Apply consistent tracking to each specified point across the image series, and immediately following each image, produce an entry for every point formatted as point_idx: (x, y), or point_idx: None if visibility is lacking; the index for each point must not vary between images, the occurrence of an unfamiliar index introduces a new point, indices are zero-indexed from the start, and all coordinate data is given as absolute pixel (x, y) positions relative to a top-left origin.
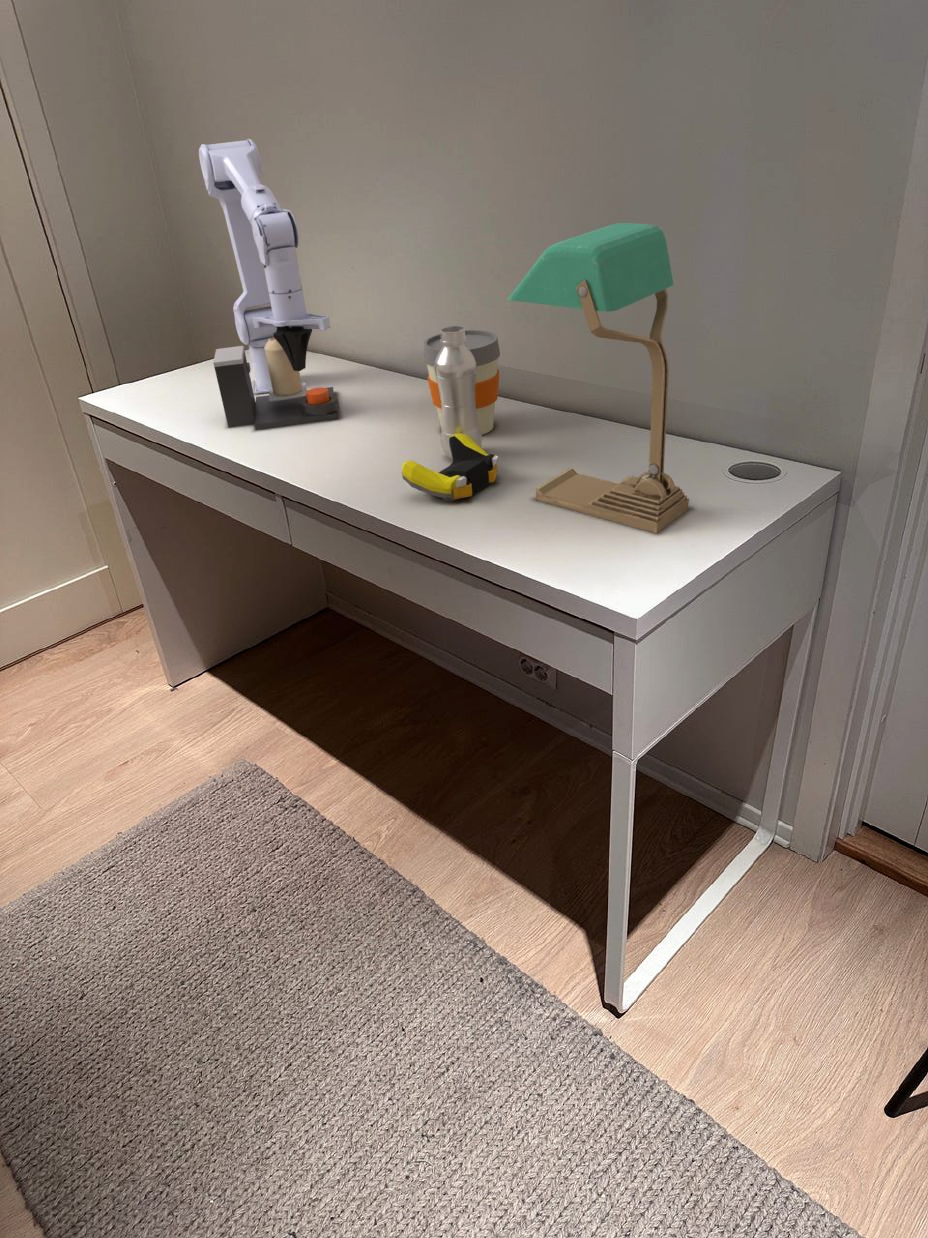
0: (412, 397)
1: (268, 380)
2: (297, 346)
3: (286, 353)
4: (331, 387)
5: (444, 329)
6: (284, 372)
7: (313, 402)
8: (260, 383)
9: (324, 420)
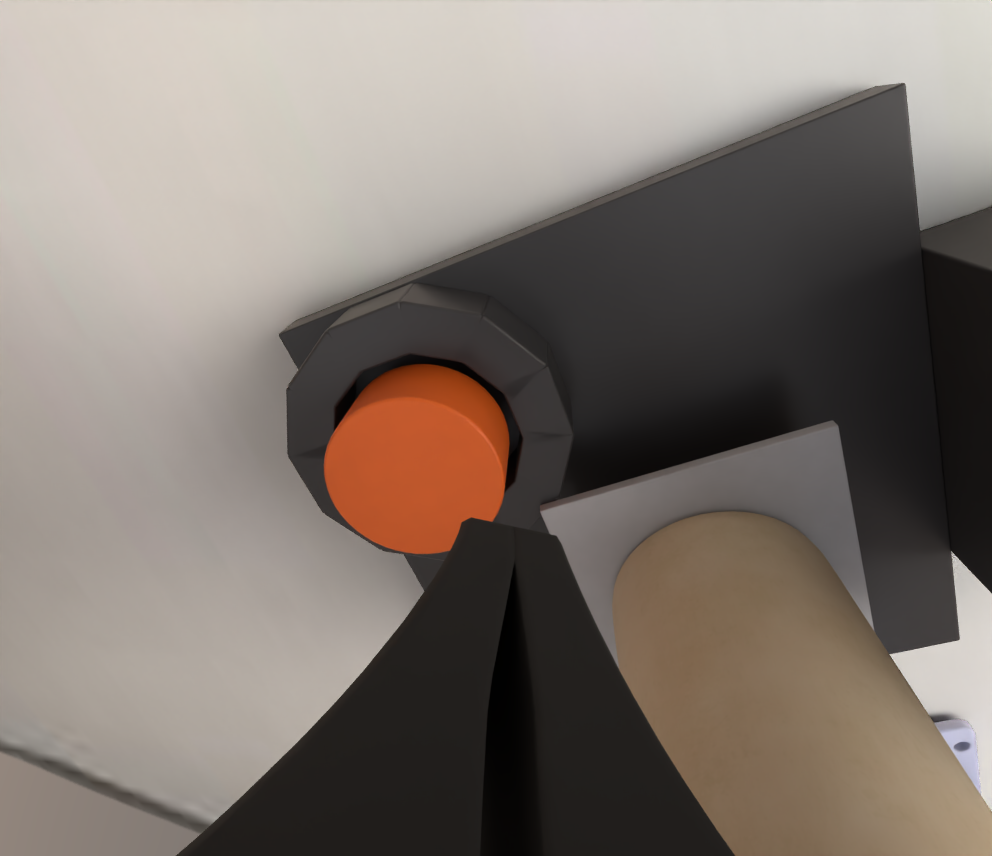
0: (59, 620)
1: None
2: (228, 813)
3: (630, 719)
4: None
5: None
6: (737, 652)
7: (431, 372)
8: None
9: (373, 289)
